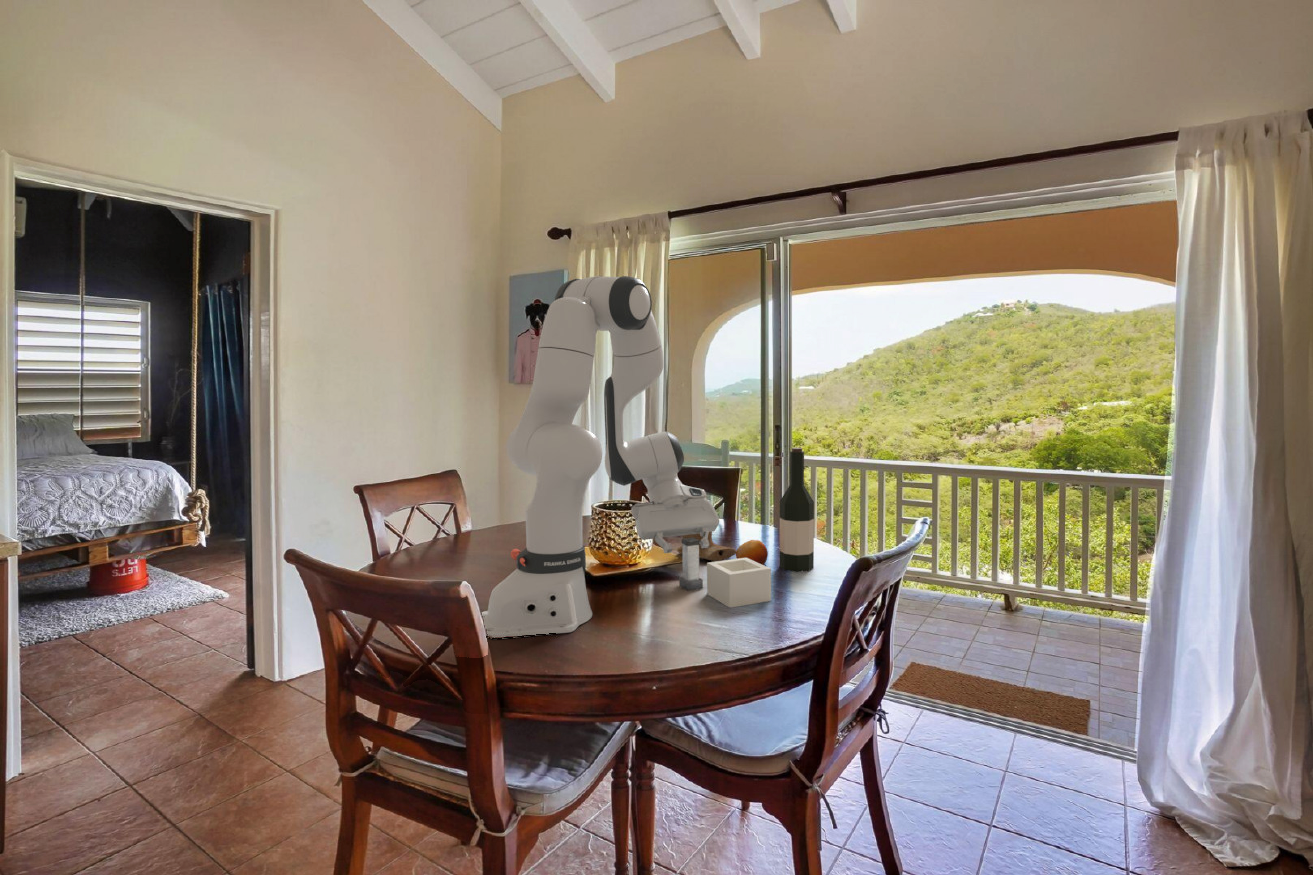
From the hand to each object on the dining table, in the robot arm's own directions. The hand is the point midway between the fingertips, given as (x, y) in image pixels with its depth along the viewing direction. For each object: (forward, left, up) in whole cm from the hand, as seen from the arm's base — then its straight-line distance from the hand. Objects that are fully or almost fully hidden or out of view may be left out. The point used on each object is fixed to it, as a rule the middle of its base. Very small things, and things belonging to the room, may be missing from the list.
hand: (687, 549), depth 152 cm
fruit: (+21, +6, -9) cm, 23 cm away
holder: (+6, -13, -8) cm, 16 cm away
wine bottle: (+31, +1, -9) cm, 32 cm away
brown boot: (+14, +20, -9) cm, 26 cm away
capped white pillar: (0, -2, -8) cm, 9 cm away
